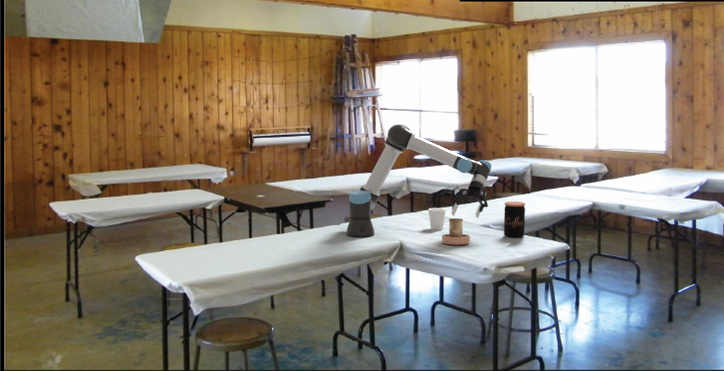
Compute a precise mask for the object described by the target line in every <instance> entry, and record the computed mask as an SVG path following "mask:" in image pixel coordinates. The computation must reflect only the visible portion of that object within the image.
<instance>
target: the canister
mask: <svg viewBox="0 0 724 371" xmlns="http://www.w3.org/2000/svg"><path fill="white" fill-rule="evenodd" d="M448 221H449V224H448V225H449V226H448V228H449V233H448V234H449V237H462V234H463V221H464V220H463V218H454V217H453V218H449V219H448Z"/></svg>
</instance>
